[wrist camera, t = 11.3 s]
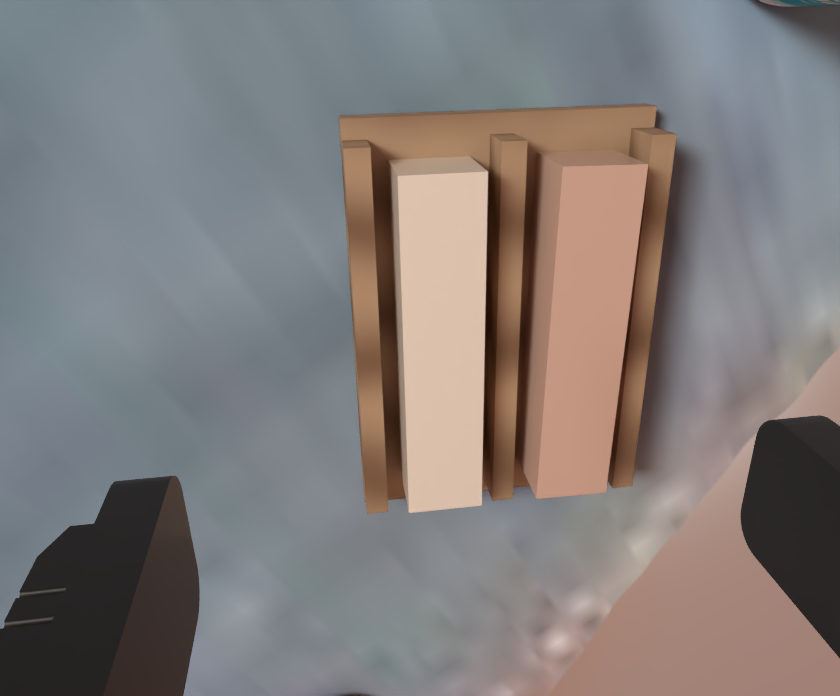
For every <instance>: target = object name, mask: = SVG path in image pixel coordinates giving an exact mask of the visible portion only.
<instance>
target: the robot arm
mask: <svg viewBox="0 0 840 696" xmlns="http://www.w3.org/2000/svg"><path fill="white" fill-rule="evenodd" d="M741 525H742V531H743V534H744V537H745V540H746V543H747V545H748V547H749V549H750V550H751V552H752V553H753V555H754V556H755V557H756V559H757V560H758V561H759V562H760V563H761V565H762V566H763V567H764V568H765V569H766V570H767V572H768V573H769V574H770V575H771V576H772V578H773V579H774V580H775V581H776V582H777V583H778V585H779V586H780V587H781V589H782V590H783V591H784V592H785V593H786V594H787V596H788V597H789V598H790V599H791V600H792V602H793V603H794V604H795V605H796V606H797V608H798V609H799V610H800V611H801V612H802V614H803V615H804V616H805V617H806V618H807V620H808V621H809V622H810V623H811V624H812V625H813V627H814V628H815V629H816V630H817V632H818V633H819V634H820V635H821V636H822V638H823V639H824V640H825V641H826V642H827V643H828V644H829V646H830V647H831V648H832V650H833V651H834V652H835V653H836V654H837V656H838V657H839V658H840V426H838V425H837V424H836V423H835V422H833V421H832V420H830V419H828V418H827V417H824V416H809V417H799V418H788V419H778V420H769V421H767V422H765V423H764V424H762V425H761V427H760V428H759V430H758V433H757V436H756V440H755V445H754V450H753V455H752V460H751V464H750V469H749V474H748V479H747V483H746V488H745V493H744V498H743V503H742V508H741ZM198 613H199V576H198V569H197V563H196V558H195V553H194V548H193V543H192V538H191V533H190V528H189V522H188V517H187V512H186V507H185V502H184V497H183V492H182V488H181V484H180V482H179V479H178V478H177V477H176V476H167V477H156V478H146V479H135V480H125V481H116V482H114V483H113V484H112V485H111V487H110V489H109V491H108V493H107V496H106V498H105V500H104V502H103V505H102V507H101V509H100V512H99V514H98V516H97V519H96V521H95V523H94V524H87V525H77V526H70V527H69V528H68V529H67V530H65V531H64V532H63V533H62V534H61V535H60V536H59V537H58V538H57V539H56V540H55V541H54V542H53V543H52V544H51V545H49V546H48V547H47V548H46V549H45V550H44V551H43V552H42V553H41V554H40V555H39V556H38V557H37V559H36V560H35V562H34V564H33V566H32V568H31V570H30V572H29V574H28V576H27V578H26V580H25V582H24V584H23V586H22V588H21V590H20V597H19V598H16V599H15V601H14V603H13V605H12V607H11V609H10V611H9V613H8V615H7V617H6V619H5V621H4V622H5V626H4V628H3V629H0V696H183V694H184V689H185V683H186V678H187V673H188V668H189V662H190V657H191V652H192V647H193V641H194V636H195V631H196V626H197V620H198Z"/></svg>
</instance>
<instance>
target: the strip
mask: <svg viewBox="0 0 840 696" xmlns="http://www.w3.org/2000/svg"><path fill="white" fill-rule="evenodd" d="M388 163H389V189H390V214H391V240H392V265H393V291H394V317H395V342H396V368H397V394H398V419H399V445H400V470H401V476H402V481H403V486H404V491H405V496H406V501H407V506H408V510H409V513H414V512H423V511H433V510H442V509H452V508H461V507H471V506H480V505H482V462H483V409H484V357H485V305H486V252H487V200H488V171H487V170H486V169H484V168H483V167H482V166H481V165H480V164H478V163H477V162H476V161H475V160H474V159H472V158H471V157H470V156H464V157H443V158H421V159H399V160H388Z"/></svg>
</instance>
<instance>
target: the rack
mask: <svg viewBox="0 0 840 696" xmlns="http://www.w3.org/2000/svg"><path fill="white" fill-rule="evenodd" d="M656 108H657V106H653V105H649V104H629V105H603V106H577V107H551V108H525V109H499V110H473V111H447V112H421V113H395V114H369V115H342V116H339V124H340V139H341V154H342V169H343V184H344V199H345V214H346V230H347V245H348V260H349V275H350V290H351V305H352V320H353V335H354V351H355V366H356V381H357V396H358V411H359V426H360V441H361V456H362V472H363V487H364V497H365V502H366V509H367V514H370V513H379V512H388V500H392V499H402V498H406V496H405V491H404V486H403V481H402V476H401V470H400V445H399V419H398V394H397V368H396V342H395V317H394V291H393V265H392V240H391V214H390V189H389V163H388V160H399V159H421V158H443V157H464V156H470V157H471V158H472V159H474V160H475V161H476V162H477V163H478V164H480V165H481V166H482V167H483V168H484V169H486V170H487V171H488V200H487V252H486V305H485V357H484V409H483V462H482V490H489V493H490V496H491V498H492V501H494V500H503V499H513V487H518V486H528V485H530V484H529V482H528V480H527V478H526V476H525V474H524V472H523V470H522V468H521V465H520V463H519V461H518V459H517V454H518V439H519V423H520V408H521V392H522V377H523V361H524V346H525V330H526V315H527V299H528V284H529V268H530V253H531V237H532V222H533V206H534V191H535V175H536V160H537V152H559V151H596V150H615V151H618V152H620V153H623V154H625V155H627V156H630V157H632V158H635V159H637V160H640V161H642V162H644V163H647V164H648V171H647V179H646V186H645V194H644V202H643V210H642V217H641V225H640V233H639V240H638V248H637V256H636V264H635V271H634V279H633V287H632V294H631V302H630V310H629V318H628V325H627V333H626V341H625V348H624V356H623V364H622V372H621V379H620V387H619V395H618V403H617V410H616V418H615V426H614V433H613V441H612V449H611V457H610V464H609V472H608V482H609V483H610V485H611V486H612V488H617V487H627V486H632V483H633V475H634V467H635V459H636V451H637V443H638V435H639V428H640V420H641V412H642V404H643V396H644V388H645V380H646V372H647V365H648V357H649V349H650V341H651V333H652V325H653V317H654V309H655V301H656V294H657V286H658V278H659V270H660V262H661V254H662V246H663V238H664V231H665V223H666V215H667V207H668V199H669V191H670V183H671V175H672V167H673V160H674V152H675V144H676V136H677V134H675V133H672V132H668V131H665V130H662V129H658V128H655V127H654V126H655V117H656Z"/></svg>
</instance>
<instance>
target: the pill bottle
mask: <svg viewBox="0 0 840 696" xmlns="http://www.w3.org/2000/svg"><path fill="white" fill-rule="evenodd" d="M759 1H761V2H763V3H766V4H770V5H775V6H821V5H840V0H759Z"/></svg>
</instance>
